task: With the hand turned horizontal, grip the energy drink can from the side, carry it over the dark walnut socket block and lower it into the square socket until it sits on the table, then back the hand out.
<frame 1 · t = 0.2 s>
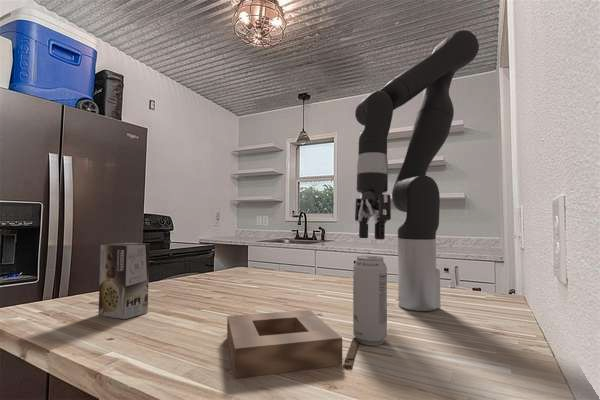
hand: (371, 238, 80), 17 cm above the counter, fingers open, 8 cm apart
energy drink can: (369, 341, 60), on the counter
brown wooden stick: (352, 355, 54), on the counter
socket block: (278, 350, 55), on the counter
coffee box: (123, 314, 75), on the counter
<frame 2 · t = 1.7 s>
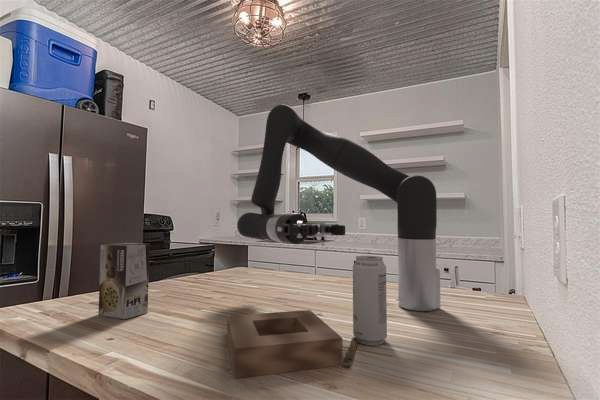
hand: (329, 230, 70), 20 cm above the counter, fingers open, 8 cm apart
nothing on the counter moved.
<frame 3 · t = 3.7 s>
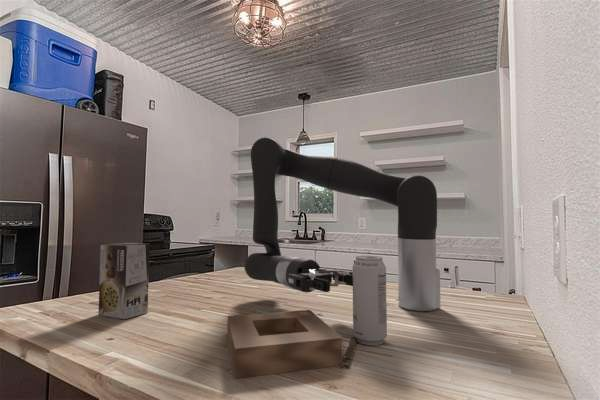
hand: (345, 284, 65), 9 cm above the counter, fingers open, 8 cm apart
nothing on the counter moved.
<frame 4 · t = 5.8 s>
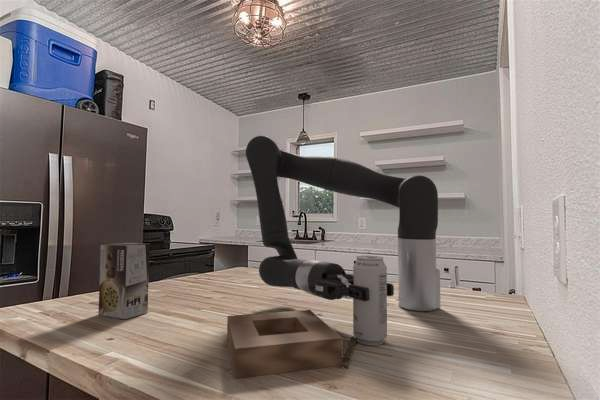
hand: (380, 292, 58), 9 cm above the counter, fingers closed on energy drink can, 6 cm apart
energy drink can: (370, 341, 60), on the counter, touching gripper
everything else where it was.
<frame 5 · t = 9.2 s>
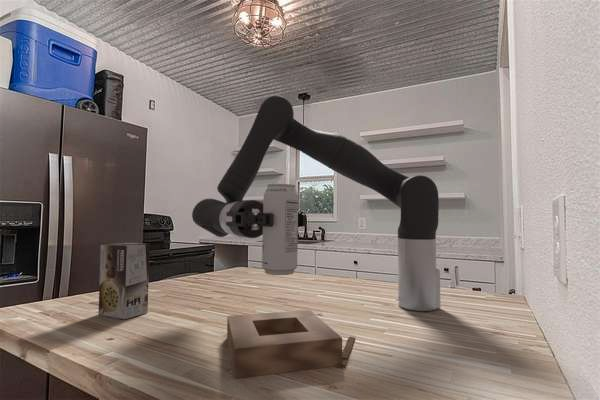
hand: (288, 220, 54), 22 cm above the counter, fingers closed on energy drink can, 6 cm apart
energy drink can: (279, 273, 56), point 13 cm above the counter, touching gripper
everything else where it was.
when the fingers open (10 cm above the counter, at t = 12.6 s): energy drink can drops 1 cm, on the counter.
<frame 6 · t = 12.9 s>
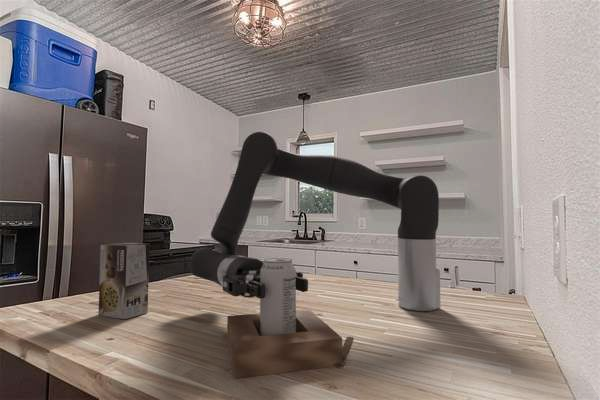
hand: (285, 288, 54), 10 cm above the counter, fingers open, 8 cm apart
energy drink can: (278, 350, 55), on the counter
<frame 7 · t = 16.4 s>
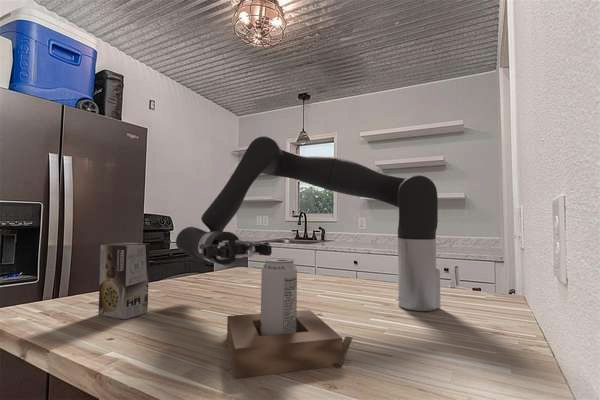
hand: (251, 251, 65), 15 cm above the counter, fingers open, 8 cm apart
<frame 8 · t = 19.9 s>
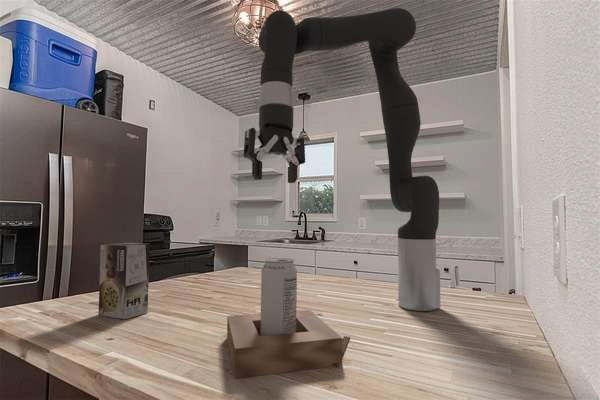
hand: (275, 181, 71), 30 cm above the counter, fingers open, 8 cm apart
at the end: energy drink can 0.2 cm off-centre on the socket block, point 0.0 cm above the socket block's base; energy drink can tilted 0°; the gripper is holding nothing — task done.
